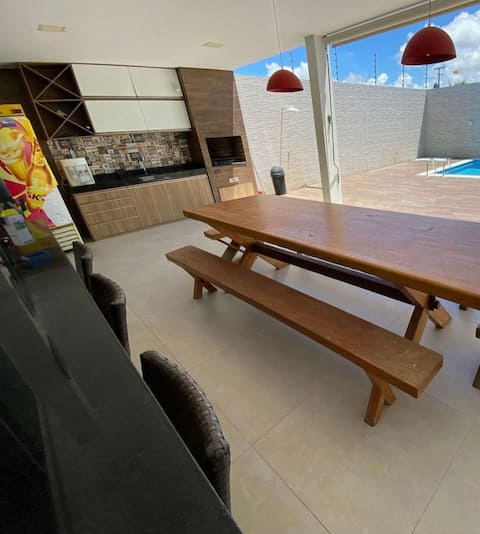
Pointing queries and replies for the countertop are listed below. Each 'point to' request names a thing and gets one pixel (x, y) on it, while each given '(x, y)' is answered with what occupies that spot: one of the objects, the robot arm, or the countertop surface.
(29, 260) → the holder
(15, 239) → the syrup box
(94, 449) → the countertop surface
